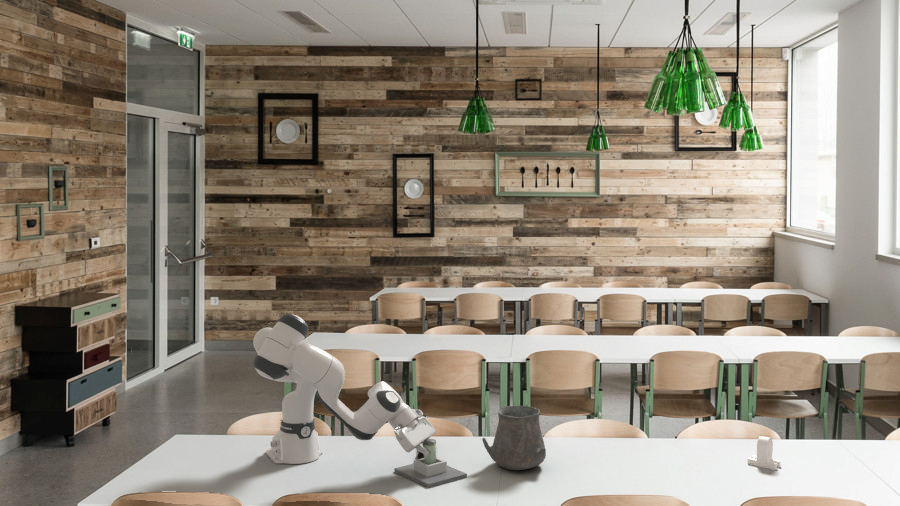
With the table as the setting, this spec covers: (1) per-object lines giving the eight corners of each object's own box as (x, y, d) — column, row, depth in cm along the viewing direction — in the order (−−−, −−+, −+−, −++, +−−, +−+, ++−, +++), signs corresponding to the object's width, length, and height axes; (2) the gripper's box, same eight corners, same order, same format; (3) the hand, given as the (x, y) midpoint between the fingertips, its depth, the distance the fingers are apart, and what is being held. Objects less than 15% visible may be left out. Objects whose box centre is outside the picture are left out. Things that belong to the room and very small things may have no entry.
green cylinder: (422, 467, 277) (421, 441, 276) (428, 464, 280) (428, 438, 279) (431, 469, 274) (431, 443, 274) (438, 466, 278) (438, 440, 277)
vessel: (558, 460, 292) (558, 405, 290) (538, 479, 272) (538, 420, 270) (501, 452, 301) (501, 399, 300) (478, 471, 281) (478, 413, 280)
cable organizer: (775, 470, 280) (775, 441, 279) (746, 463, 286) (747, 435, 286) (780, 466, 284) (781, 438, 283) (752, 460, 290) (753, 432, 290)
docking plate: (394, 471, 281) (394, 458, 280) (431, 462, 290) (431, 449, 290) (428, 487, 265) (428, 473, 264) (466, 477, 274) (466, 463, 274)
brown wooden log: (428, 461, 292) (428, 449, 291) (417, 461, 292) (417, 448, 292) (434, 446, 311) (434, 434, 310) (424, 445, 311) (424, 433, 311)
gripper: (398, 423, 269) (425, 455, 266) (422, 408, 288) (448, 438, 285) (386, 435, 271) (413, 467, 268) (410, 420, 290) (436, 449, 287)
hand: (431, 452), depth 277 cm, fingers closed on green cylinder, 4 cm apart
